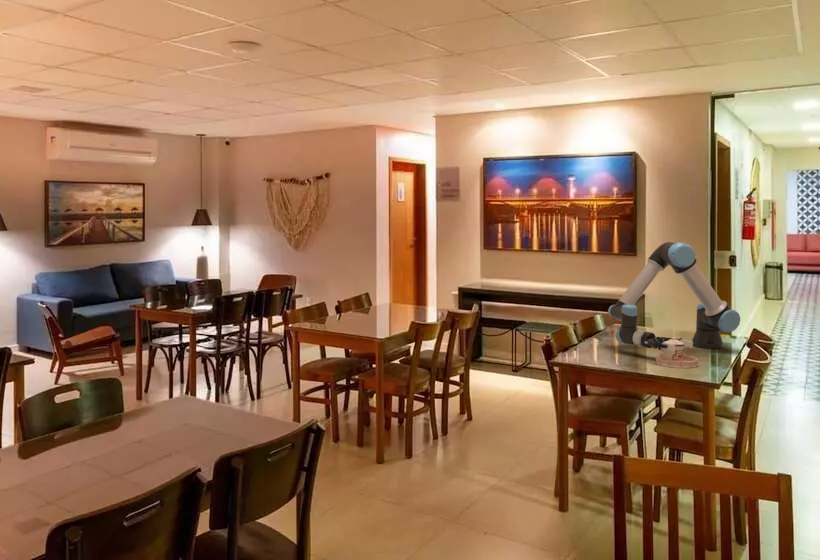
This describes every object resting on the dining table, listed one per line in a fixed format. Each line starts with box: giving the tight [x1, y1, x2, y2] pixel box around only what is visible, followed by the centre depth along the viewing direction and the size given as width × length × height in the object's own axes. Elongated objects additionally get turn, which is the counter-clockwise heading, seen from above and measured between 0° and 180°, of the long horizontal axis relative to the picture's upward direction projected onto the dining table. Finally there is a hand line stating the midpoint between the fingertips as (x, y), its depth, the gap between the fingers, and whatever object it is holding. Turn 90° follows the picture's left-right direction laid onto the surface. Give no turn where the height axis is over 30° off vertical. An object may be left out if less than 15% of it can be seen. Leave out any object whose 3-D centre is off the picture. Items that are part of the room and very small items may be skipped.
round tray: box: [655, 353, 699, 369], centre depth 313 cm, size 18×18×3 cm
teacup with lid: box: [663, 336, 687, 362], centre depth 313 cm, size 12×9×12 cm
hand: (683, 346), depth 310 cm, fingers open, 13 cm apart
